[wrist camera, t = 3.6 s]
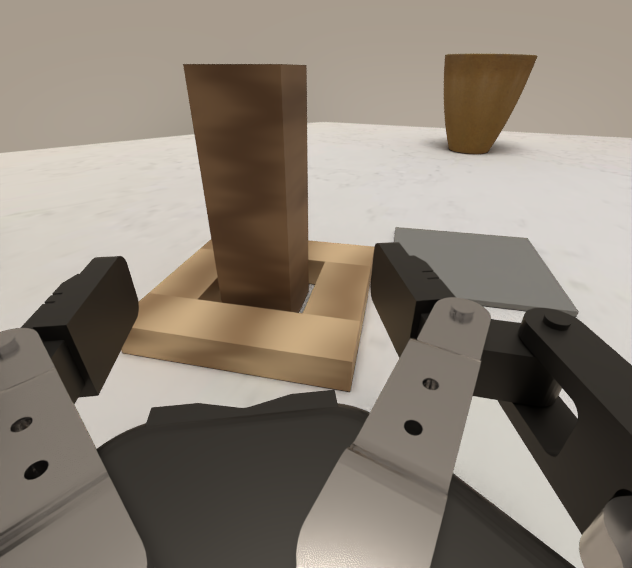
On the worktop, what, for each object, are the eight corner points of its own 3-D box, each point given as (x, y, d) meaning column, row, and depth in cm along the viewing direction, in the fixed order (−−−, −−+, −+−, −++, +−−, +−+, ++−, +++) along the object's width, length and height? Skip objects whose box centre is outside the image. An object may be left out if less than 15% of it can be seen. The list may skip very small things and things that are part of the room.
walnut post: (224, 319, 23) (183, 64, 16) (250, 284, 27) (226, 65, 20) (291, 328, 22) (280, 64, 15) (308, 291, 26) (306, 65, 19)
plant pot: (476, 161, 62) (500, 52, 54) (414, 147, 73) (427, 54, 65) (527, 153, 69) (556, 54, 60) (464, 141, 80) (481, 56, 71)
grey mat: (389, 294, 26) (390, 290, 25) (395, 230, 36) (395, 227, 35) (576, 316, 23) (578, 311, 23) (526, 242, 33) (527, 238, 33)
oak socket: (122, 352, 20) (111, 324, 19) (222, 253, 31) (219, 232, 30) (350, 391, 18) (352, 361, 17) (372, 269, 29) (374, 246, 28)
